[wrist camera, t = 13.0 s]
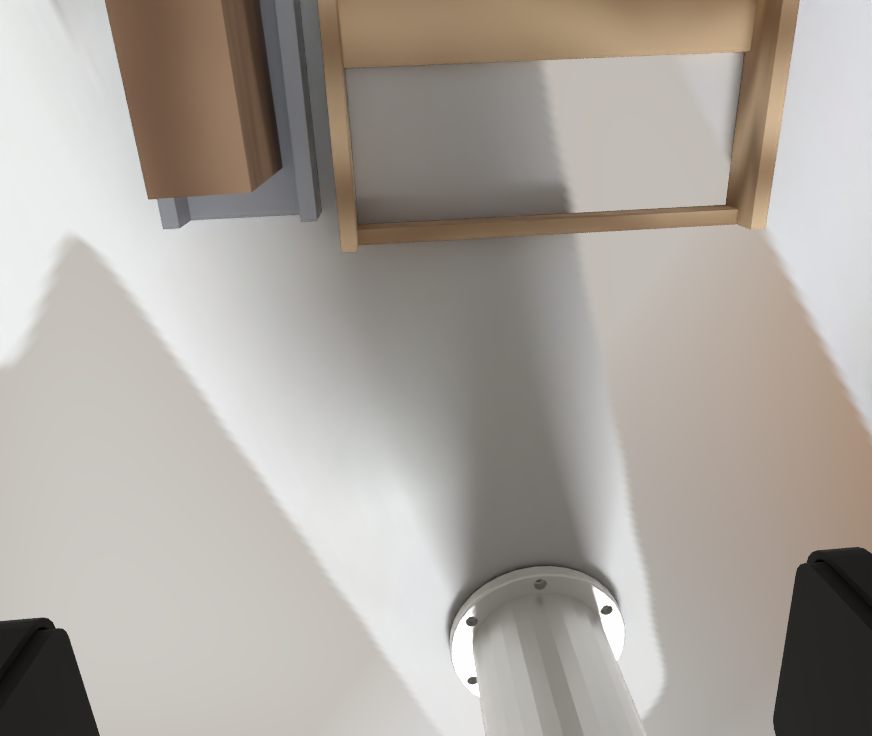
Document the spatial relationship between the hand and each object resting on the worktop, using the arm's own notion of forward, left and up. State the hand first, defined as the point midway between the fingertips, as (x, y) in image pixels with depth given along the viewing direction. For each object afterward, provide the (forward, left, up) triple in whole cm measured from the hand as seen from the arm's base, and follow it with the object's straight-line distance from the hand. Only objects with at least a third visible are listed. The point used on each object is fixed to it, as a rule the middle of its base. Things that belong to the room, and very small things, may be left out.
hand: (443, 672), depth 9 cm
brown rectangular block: (+9, +8, -30) cm, 32 cm away
